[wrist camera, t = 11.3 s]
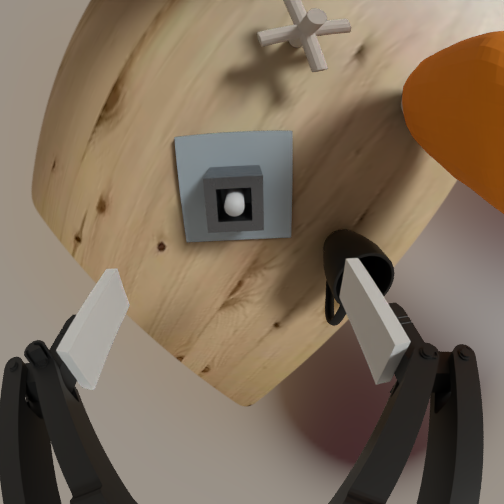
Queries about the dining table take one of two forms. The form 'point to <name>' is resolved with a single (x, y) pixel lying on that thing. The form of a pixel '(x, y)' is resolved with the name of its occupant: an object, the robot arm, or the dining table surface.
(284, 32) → the light grey toy jack
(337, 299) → the mug
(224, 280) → the dining table surface
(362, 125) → the dining table surface
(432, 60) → the orange egg-shaped ornament
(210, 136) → the post block
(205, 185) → the collar
